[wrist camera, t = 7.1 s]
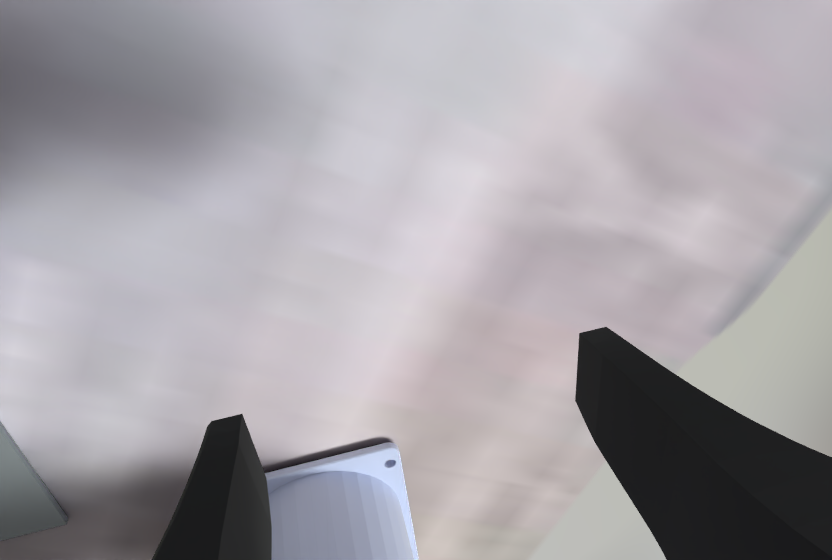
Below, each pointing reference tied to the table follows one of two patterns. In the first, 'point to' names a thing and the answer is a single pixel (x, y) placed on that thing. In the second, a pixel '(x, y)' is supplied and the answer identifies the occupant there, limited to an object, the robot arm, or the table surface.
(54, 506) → the slate mat
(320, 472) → the robot arm
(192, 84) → the table surface
